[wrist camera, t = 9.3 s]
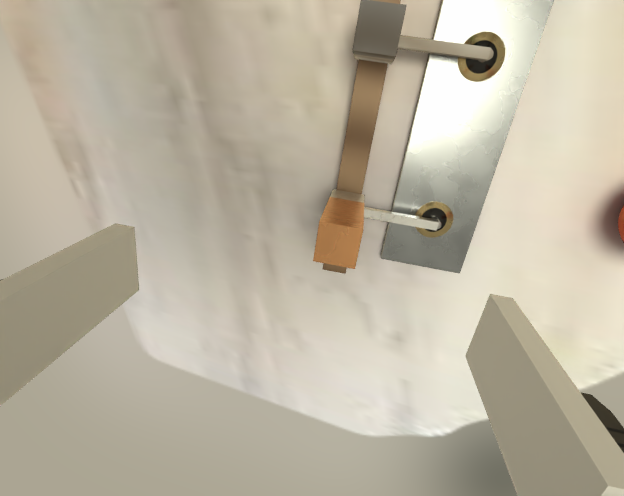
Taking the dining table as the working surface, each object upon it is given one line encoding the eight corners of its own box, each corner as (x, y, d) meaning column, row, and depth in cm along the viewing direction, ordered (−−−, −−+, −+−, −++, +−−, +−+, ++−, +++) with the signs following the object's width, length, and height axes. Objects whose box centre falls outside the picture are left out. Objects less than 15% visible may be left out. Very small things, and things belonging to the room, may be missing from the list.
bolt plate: (446, -20, 28) (449, -24, 27) (551, -7, 27) (558, -11, 26) (380, 254, 37) (381, 258, 36) (457, 269, 37) (459, 273, 36)
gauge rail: (376, -60, 28) (379, -110, 21) (512, -44, 27) (558, -91, 20) (322, 260, 39) (312, 291, 32) (417, 279, 38) (427, 315, 31)
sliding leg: (333, 187, 34) (319, 221, 24) (443, 206, 33) (475, 249, 23) (328, 217, 35) (313, 260, 25) (434, 236, 34) (461, 289, 24)
